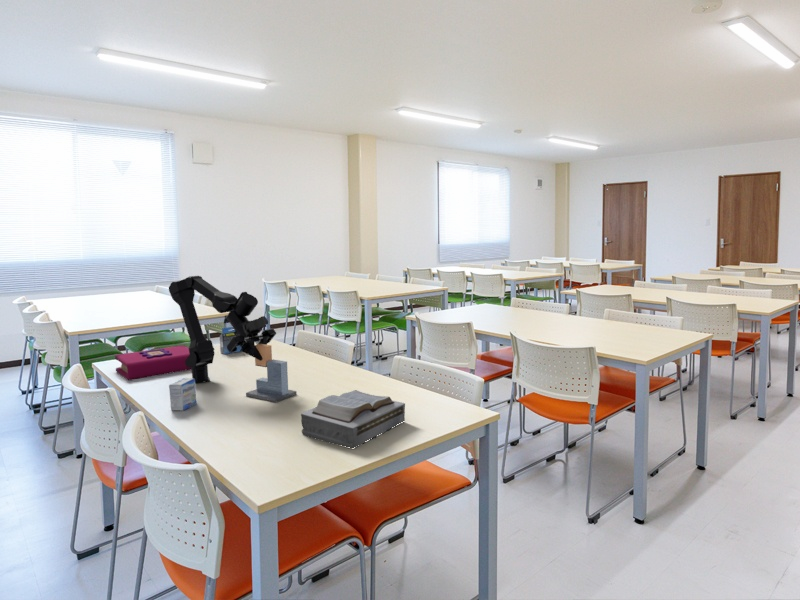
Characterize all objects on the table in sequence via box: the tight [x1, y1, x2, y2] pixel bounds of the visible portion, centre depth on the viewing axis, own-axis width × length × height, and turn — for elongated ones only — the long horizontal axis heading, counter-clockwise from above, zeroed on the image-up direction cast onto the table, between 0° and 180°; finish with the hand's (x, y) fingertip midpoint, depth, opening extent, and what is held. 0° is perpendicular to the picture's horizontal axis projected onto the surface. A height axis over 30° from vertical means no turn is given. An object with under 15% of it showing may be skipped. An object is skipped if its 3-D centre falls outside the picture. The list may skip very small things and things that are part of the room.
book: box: [114, 344, 192, 381], centre depth 225 cm, size 21×28×8 cm
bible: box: [300, 389, 406, 448], centre depth 155 cm, size 23×27×10 cm
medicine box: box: [168, 377, 198, 412], centre depth 176 cm, size 8×4×9 cm, turn 168°
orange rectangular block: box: [254, 344, 273, 368], centre depth 188 cm, size 5×3×7 cm, turn 59°
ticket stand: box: [245, 358, 298, 403], centre depth 187 cm, size 14×10×12 cm
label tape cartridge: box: [219, 326, 242, 355], centre depth 254 cm, size 9×4×12 cm, turn 130°
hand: (265, 358), depth 187 cm, fingers closed on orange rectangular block, 3 cm apart
